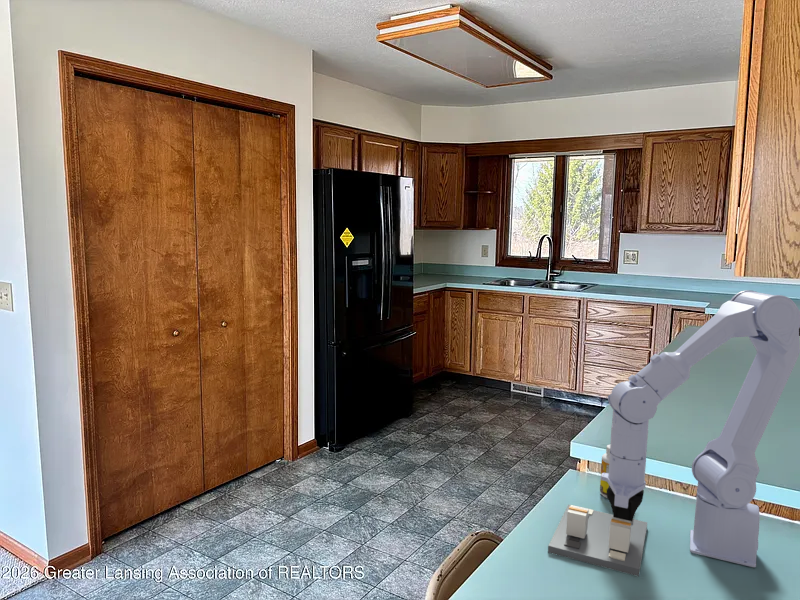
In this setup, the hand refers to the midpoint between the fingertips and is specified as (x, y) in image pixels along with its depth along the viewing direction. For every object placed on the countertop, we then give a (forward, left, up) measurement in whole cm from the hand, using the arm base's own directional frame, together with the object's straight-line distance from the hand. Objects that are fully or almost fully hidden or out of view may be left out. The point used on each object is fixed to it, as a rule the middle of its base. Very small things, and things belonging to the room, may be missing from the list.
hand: (622, 530), depth 99 cm
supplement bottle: (+4, -19, -3) cm, 20 cm away
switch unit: (+4, +1, -2) cm, 4 cm away
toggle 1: (+7, +3, -1) cm, 8 cm away
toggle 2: (0, +4, -1) cm, 4 cm away
